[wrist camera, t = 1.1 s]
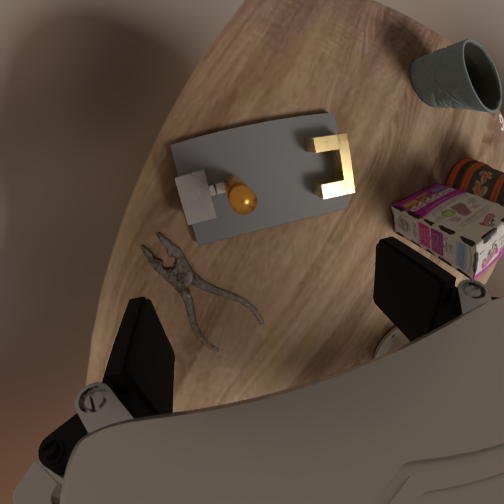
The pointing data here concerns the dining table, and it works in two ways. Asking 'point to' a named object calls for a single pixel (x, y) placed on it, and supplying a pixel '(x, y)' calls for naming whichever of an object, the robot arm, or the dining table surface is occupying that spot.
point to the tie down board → (262, 173)
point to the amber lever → (236, 194)
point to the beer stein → (477, 180)
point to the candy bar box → (453, 227)
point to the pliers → (183, 278)
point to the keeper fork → (333, 165)
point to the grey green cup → (458, 78)
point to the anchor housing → (195, 196)
